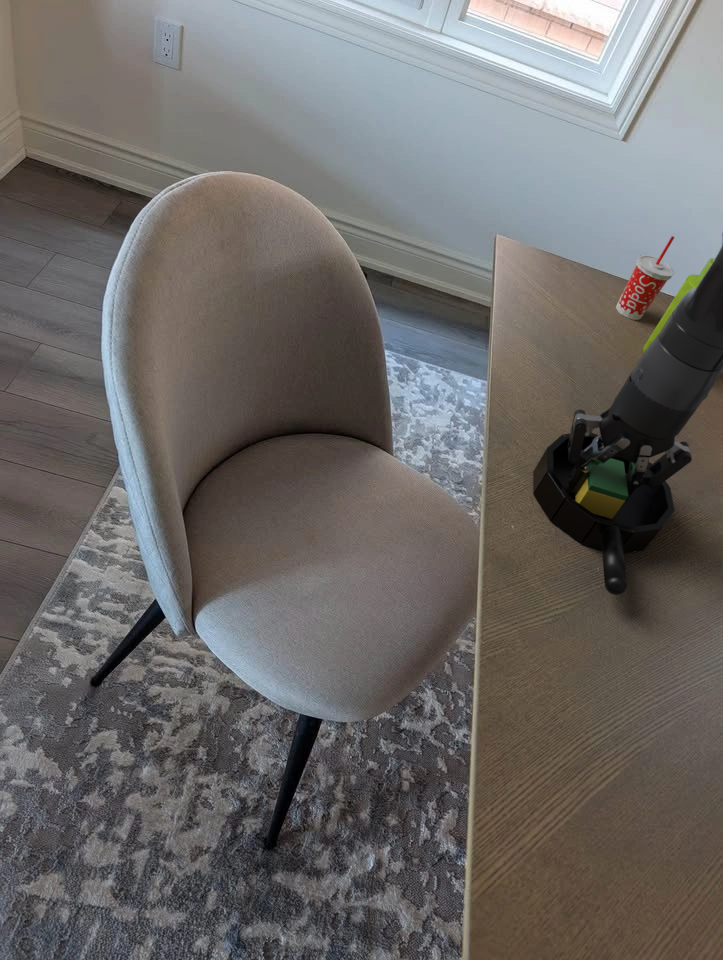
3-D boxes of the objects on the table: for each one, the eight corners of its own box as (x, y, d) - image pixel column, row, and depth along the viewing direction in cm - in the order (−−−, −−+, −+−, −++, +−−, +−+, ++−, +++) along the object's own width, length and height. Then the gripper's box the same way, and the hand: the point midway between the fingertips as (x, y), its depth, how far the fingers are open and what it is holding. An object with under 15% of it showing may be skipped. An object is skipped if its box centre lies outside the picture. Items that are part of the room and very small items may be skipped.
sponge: (573, 474, 92) (588, 450, 89) (608, 484, 92) (623, 461, 89) (575, 508, 87) (591, 485, 85) (612, 519, 88) (628, 496, 85)
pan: (533, 441, 96) (546, 417, 93) (648, 477, 96) (664, 454, 94) (532, 587, 78) (549, 564, 76) (672, 630, 79) (694, 608, 76)
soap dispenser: (635, 356, 117) (708, 240, 103) (648, 340, 122) (719, 228, 108) (669, 376, 116) (747, 261, 102) (681, 359, 120) (757, 247, 107)
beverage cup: (605, 305, 127) (647, 229, 117) (623, 298, 130) (666, 224, 121) (634, 326, 124) (680, 250, 114) (652, 317, 128) (698, 243, 118)
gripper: (725, 383, 81) (645, 490, 93) (600, 344, 80) (536, 457, 92) (739, 427, 76) (652, 534, 87) (605, 385, 75) (536, 499, 87)
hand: (593, 494), depth 90 cm, fingers closed on sponge, 4 cm apart
